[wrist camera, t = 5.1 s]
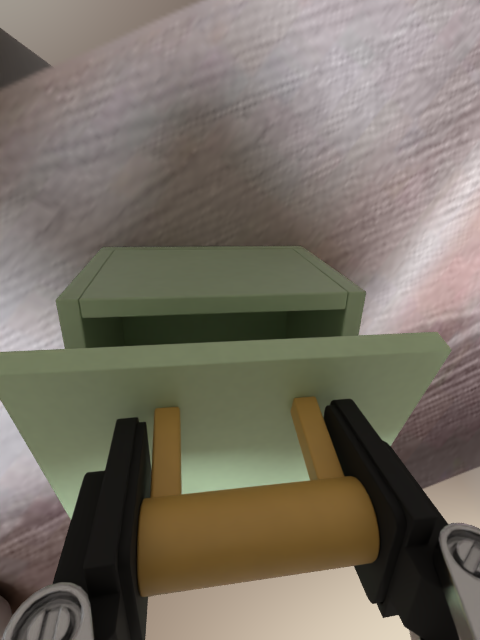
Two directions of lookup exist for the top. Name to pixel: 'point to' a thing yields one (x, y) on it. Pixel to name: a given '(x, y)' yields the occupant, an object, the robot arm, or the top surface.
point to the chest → (206, 297)
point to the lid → (225, 444)
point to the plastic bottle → (4, 615)
